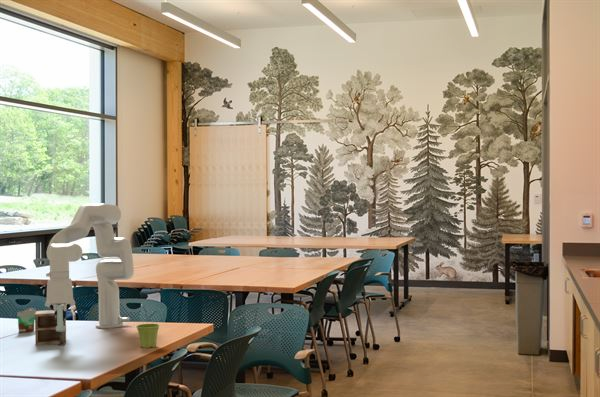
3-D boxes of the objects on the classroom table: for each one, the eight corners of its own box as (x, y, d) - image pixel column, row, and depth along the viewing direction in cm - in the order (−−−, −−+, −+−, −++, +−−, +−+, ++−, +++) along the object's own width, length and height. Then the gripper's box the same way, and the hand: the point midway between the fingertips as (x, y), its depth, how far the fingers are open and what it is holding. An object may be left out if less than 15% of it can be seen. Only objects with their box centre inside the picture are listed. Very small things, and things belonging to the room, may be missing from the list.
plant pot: (154, 349, 311) (154, 327, 311) (132, 348, 313) (132, 327, 313) (163, 344, 320) (163, 323, 320) (142, 344, 322) (141, 323, 322)
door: (65, 329, 310) (64, 304, 312) (54, 330, 309) (54, 305, 311) (66, 332, 324) (65, 308, 327) (56, 332, 323) (56, 308, 325)
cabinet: (66, 339, 335) (65, 309, 335) (65, 345, 322) (64, 314, 322) (36, 341, 332) (36, 311, 332) (34, 347, 319) (34, 315, 319)
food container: (30, 333, 351) (30, 311, 351) (17, 333, 351) (17, 311, 351) (40, 328, 364) (40, 307, 363) (27, 328, 364) (27, 307, 364)
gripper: (38, 277, 310) (39, 323, 311) (79, 275, 315) (80, 320, 315) (39, 275, 318) (40, 320, 318) (79, 274, 322) (80, 318, 322)
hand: (60, 320), depth 316 cm, fingers closed on door
